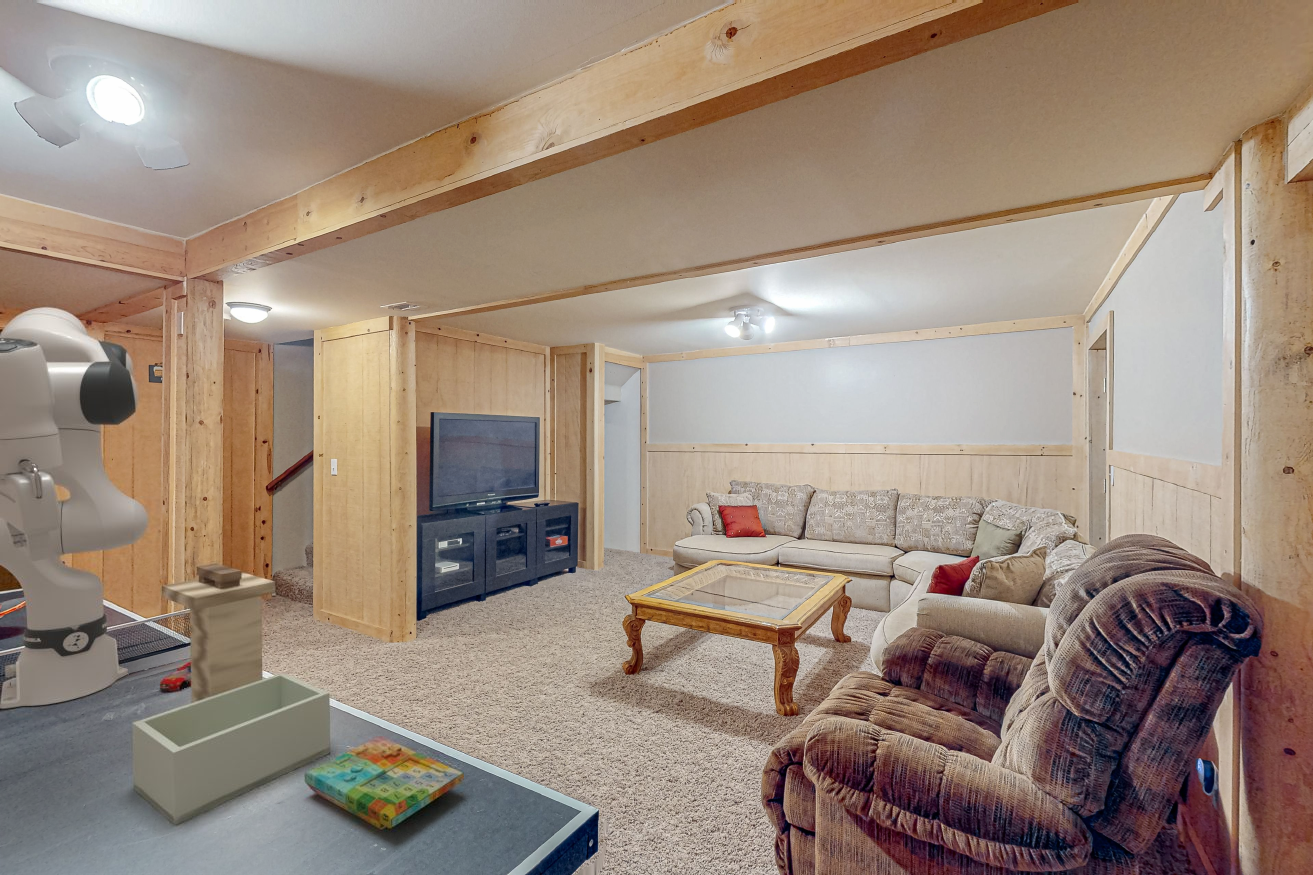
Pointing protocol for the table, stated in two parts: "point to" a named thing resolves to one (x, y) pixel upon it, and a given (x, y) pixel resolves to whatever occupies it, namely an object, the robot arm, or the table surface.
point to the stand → (222, 627)
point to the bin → (228, 744)
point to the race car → (177, 679)
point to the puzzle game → (382, 781)
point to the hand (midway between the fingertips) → (29, 552)
